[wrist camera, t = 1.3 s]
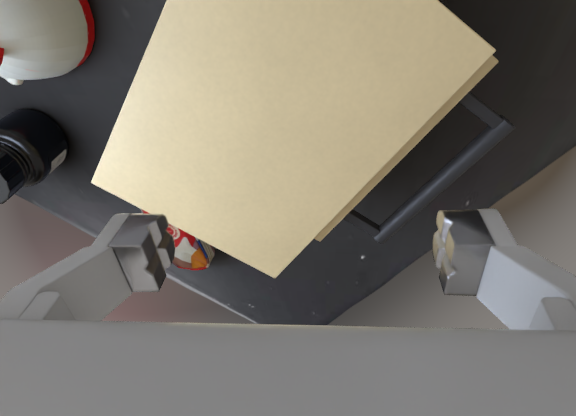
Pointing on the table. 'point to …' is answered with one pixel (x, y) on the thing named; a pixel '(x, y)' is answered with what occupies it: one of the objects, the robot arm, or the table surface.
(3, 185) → the ink bottle
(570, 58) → the table surface
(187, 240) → the pencil case
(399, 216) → the oven door
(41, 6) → the kitchen timer
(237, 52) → the oven
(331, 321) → the table surface
